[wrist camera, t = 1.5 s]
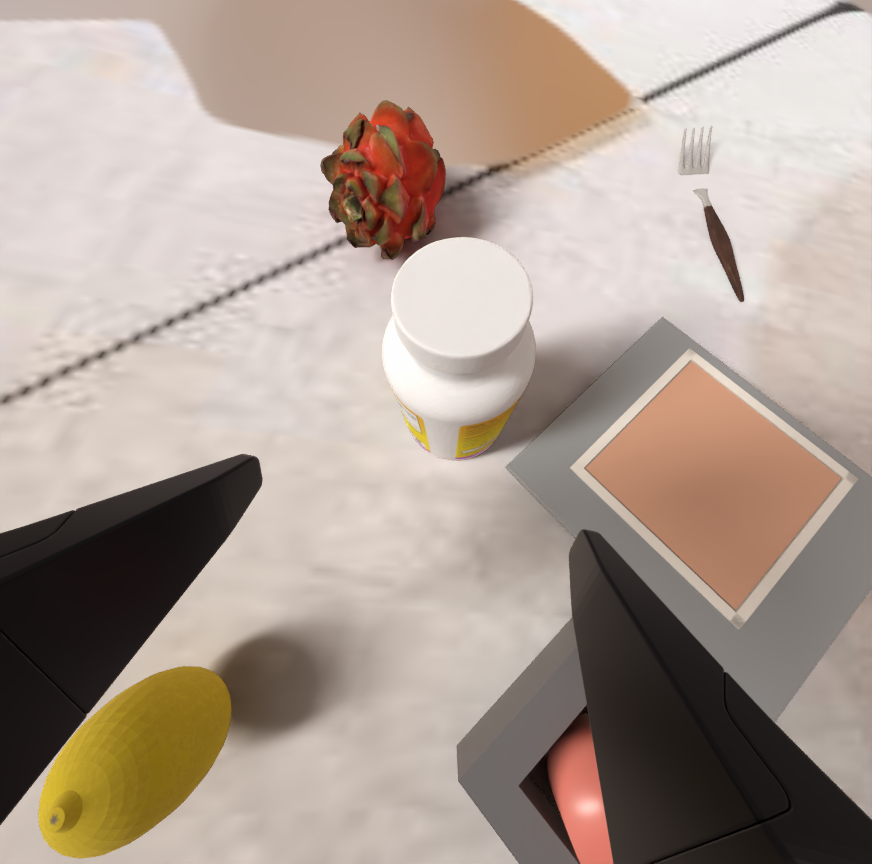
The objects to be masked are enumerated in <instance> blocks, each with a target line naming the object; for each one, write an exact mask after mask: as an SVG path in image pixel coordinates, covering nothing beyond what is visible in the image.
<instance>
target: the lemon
mask: <svg viewBox="0 0 872 864" xmlns="http://www.w3.org/2000/svg"><path fill="white" fill-rule="evenodd" d="M231 711H232V707H231V698H230V694H229V691H228V689H227V686H226V685H225V683H224V682H223V680H222V679H221V678H220V677H219V676H218V675H217V674H215V673H214V672H213V671H210V670H207V669H205V668H202V667H187V666H183V667H178V668H174V669H170V670H166V671H163V672H159V673H157V674H154V675H152V676H150V677H148V678H146V679H144V680H142V681H140V682H138V683H137V684H135V685H133V686H131V687H129V688H128V689H126V690H124V691H123V692H121V693H120V694H119V695H117V696H116V697H114V698H113V699H112V700H111V701H109V702H108V703H107V704H106V705H105V706H103V707H102V708H101V709H100V710H99V711H98V712H97V713H95V714H94V715H93V716H92V717H91V718H90V719H89V720H88V721H86V722H85V723H84V724H83V725H82V726H81V727H80V728H79V729H78V731H77V732H76V733H75V734H74V735H73V736H72V738H71V739H70V740H69V742H68V743H67V744H66V745H65V747H64V748H63V749H62V751H61V752H60V754H59V755H58V757H57V758H56V760H55V762H54V764H53V766H52V768H51V770H50V772H49V774H48V776H47V778H46V781H45V784H44V787H43V790H42V794H41V798H40V805H39V813H38V815H39V826H40V830H41V832H42V835H43V838H44V839H45V841H46V842H47V843H48V845H49V846H50V847H51V848H53V849H54V850H56V851H57V852H59V853H60V854H62V855H64V856H69V857H73V858H88V857H96V856H100V855H104V854H106V853H109V852H111V851H113V850H116V849H118V848H120V847H122V846H125V845H127V844H129V843H131V842H132V841H134V840H136V839H137V838H139V837H140V836H142V835H143V834H145V833H146V832H148V831H149V830H150V829H152V828H153V827H154V826H155V825H157V824H158V823H159V822H161V821H162V820H163V819H164V818H166V817H167V816H168V815H170V814H171V813H172V812H173V811H174V810H175V809H177V808H178V807H179V806H180V805H181V804H182V803H183V802H184V801H185V800H186V799H187V797H188V796H189V795H190V794H191V793H192V792H193V790H194V789H195V788H196V787H197V786H198V784H199V783H200V782H201V781H202V779H203V778H204V777H205V776H206V774H207V773H208V772H209V770H210V768H211V767H212V765H213V763H214V762H215V760H216V758H217V756H218V754H219V752H220V751H221V749H222V747H223V745H224V742H225V740H226V736H227V733H228V730H229V726H230V722H231Z"/></svg>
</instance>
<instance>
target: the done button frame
mask: <svg viewBox="0 0 872 864" xmlns="http://www.w3.org/2000/svg"><path fill="white" fill-rule="evenodd" d="M586 705H587V703H586V697H585V691H584V685H583V679H582V673H581V667H580V661H579V655H578V649H577V643H576V637H575V631H574V625H573V618H571V620H570V621H569V622H568V623H567V624H566V625H565V626H564V627H563V628H562V630H561V631H560V632H559V633H558V634H557V635H556V636H555V637H554V638H553V640H552V641H551V642H550V643H549V644H548V645H547V646H546V647H545V648H544V650H543V651H542V652H541V653H540V654H539V655H538V656H537V657H536V658H535V660H534V661H533V662H532V663H531V664H530V665H529V666H528V667H527V668H526V670H525V671H524V672H523V673H522V674H521V675H520V676H519V677H518V678H517V680H516V681H515V682H514V683H513V684H512V685H511V686H510V687H509V688H508V690H507V691H506V692H505V693H504V694H503V695H502V696H501V697H500V698H499V699H498V701H497V702H496V703H495V704H494V705H493V706H492V707H491V708H490V709H489V711H488V712H487V713H486V714H485V715H484V716H483V717H482V718H481V719H480V721H479V722H478V723H477V724H476V725H475V726H474V727H473V728H472V729H471V731H470V732H469V733H468V734H467V735H466V736H465V737H464V738H463V739H462V741H461V742H460V743H459V744H458V745H457V763H458V781H459V783H460V784H461V785H462V787H463V788H464V789H465V791H466V792H467V794H468V795H469V796H470V798H471V799H472V800H473V802H474V803H475V804H476V806H477V807H478V808H479V810H480V811H481V813H482V814H483V815H484V817H485V818H486V819H487V821H488V822H489V823H490V825H491V826H492V827H493V829H494V830H495V832H496V833H497V834H498V836H499V837H500V838H501V840H502V841H503V842H504V844H505V845H506V846H507V848H508V849H509V851H510V852H511V853H512V855H513V856H514V857H515V859H516V860H517V861H518V863H519V864H580V862H579V860H578V857H577V855H576V853H575V850H574V848H573V845H572V842H571V840H570V837H569V835H568V832H567V830H566V827H565V824H564V822H563V819H562V817H561V816H560V814H559V813H558V812H557V811H556V809H555V808H554V807H553V806H552V804H551V803H550V802H549V800H548V799H547V798H546V797H545V795H544V794H543V793H542V792H541V790H540V789H539V788H538V787H537V785H536V784H535V783H534V781H533V780H532V779H531V778H530V776H529V775H528V774H529V772H530V771H531V770H532V769H533V768H534V766H535V765H536V764H537V763H538V762H539V761H540V759H541V758H542V757H543V756H544V755H545V753H546V752H547V751H548V750H549V749H550V748H551V746H552V745H553V744H554V743H555V742H556V740H557V739H558V738H559V737H560V736H561V735H562V733H563V732H564V731H565V730H566V729H567V727H568V726H569V725H570V724H571V723H572V721H573V720H574V719H575V718H576V717H577V716H578V714H579V713H580V712H581V711H582V710H583V708H584V707H585V706H586Z"/></svg>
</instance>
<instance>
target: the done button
mask: <svg viewBox="0 0 872 864" xmlns="http://www.w3.org/2000/svg"><path fill="white" fill-rule="evenodd" d="M547 771H548V779H549V784H550V787H551V791H552V794H553V796H554V799H555V801H556V804H557V806H558V809H559V812H560V814H561V817H562V819H563V822H564V824H565V827H566V830H567V832H568V835H569V837H570V840H571V842H572V845H573V848H574V850H575V853H576V855H577V857H578V860H579V862H580V864H613V859H612V853H611V847H610V841H609V835H608V829H607V823H606V817H605V811H604V805H603V799H602V793H601V787H600V781H599V775H598V769H597V763H596V757H595V751H594V745H593V739H592V733H591V727H590V721H589V715H588V713H587V714H581V715H578V716H577V717H576V718H575V719H574V720H573V721H572V723H571V724H570V725H569V726H568V727H567V729H566V730H565V731H564V732H563V733H562V735H561V736H560V737H559V738H558V739H557V740H556V742H555V743H554V744H553V745H552V746H551V748H550V749H549V752H548V760H547Z"/></svg>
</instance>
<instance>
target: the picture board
mask: <svg viewBox="0 0 872 864" xmlns="http://www.w3.org/2000/svg"><path fill="white" fill-rule="evenodd" d="M505 468H506V469H507V470H508V471H509V472H510V473H511V474H512V475H513V476H514V477H515V478H516V479H517V480H518V481H519V482H520V483H521V484H522V485H523V486H524V487H525V488H526V489H527V490H528V491H529V492H530V493H531V494H532V495H533V496H534V497H535V498H536V499H537V500H538V501H539V502H540V503H541V504H542V505H543V506H544V507H545V508H546V509H547V510H548V511H549V512H550V513H551V514H552V515H553V516H554V517H555V518H556V519H557V520H558V521H559V522H560V524H561V525H562V526H563V527H564V528H565V529H566V530H567V531H568V532H569V533H570V534H571V535H572V536H573V537H574V538H575V539H576V537H577V535H578V533H579V532H580V530H582V529H587V530H592V531H596V532H598V533H600V534H601V535H602V536H603V537H604V538H605V539H606V541H607V542H608V543H609V544H610V545H611V546H612V547H613V548H614V549H615V550H616V551H617V553H618V554H619V555H620V556H621V557H622V558H623V559H624V560H625V561H626V562H627V563H628V565H629V566H630V567H631V568H632V569H633V570H634V571H635V572H636V573H637V574H638V575H639V577H640V578H641V579H642V580H643V581H644V582H645V583H646V584H647V585H648V586H649V587H650V588H651V590H652V591H653V592H654V593H655V594H656V595H657V596H658V597H659V598H660V599H661V600H662V602H663V603H664V604H665V605H666V606H667V607H668V608H669V609H670V610H671V611H672V612H673V614H674V615H675V616H676V617H677V618H678V619H679V620H680V621H681V622H682V623H683V624H684V626H685V627H686V628H687V629H688V630H689V631H690V632H691V633H692V634H693V635H694V636H695V637H696V639H697V640H698V641H699V642H700V643H701V644H702V645H703V646H704V647H705V648H706V649H707V651H708V652H709V653H710V654H711V655H712V656H713V657H714V658H715V659H716V660H717V661H718V663H719V664H720V665H721V666H722V667H723V668H724V672H727V673H729V674H730V675H731V677H732V678H733V679H734V680H735V681H736V682H737V683H738V684H739V685H740V686H741V687H742V688H743V690H744V691H745V692H746V693H747V694H748V695H749V696H750V697H751V698H752V699H753V700H754V701H755V702H756V703H757V704H758V706H759V707H760V708H761V709H762V710H763V711H764V712H765V713H766V714H767V715H768V716H769V717H770V718H771V719H772V720H773V721H774V723H775V721H776V720H777V719H778V717H779V716H780V714H781V713H782V712H783V710H784V709H785V708H786V706H787V705H788V703H789V702H790V701H791V699H792V698H793V696H794V695H795V694H796V692H797V691H798V690H799V688H800V687H801V685H802V684H803V683H804V681H805V680H806V678H807V677H808V676H809V674H810V673H811V672H812V670H813V669H814V667H815V666H816V665H817V663H818V662H819V660H820V659H821V658H822V656H823V655H824V654H825V652H826V651H827V649H828V648H829V647H830V645H831V644H832V642H833V641H834V640H835V638H836V637H837V636H838V634H839V633H840V631H841V630H842V629H843V627H844V626H845V624H846V623H847V622H848V620H849V619H850V618H851V616H852V615H853V613H854V612H855V611H856V609H857V608H858V607H859V605H860V604H861V602H862V601H863V600H864V598H865V597H866V595H867V594H868V593H869V591H870V590H871V589H872V477H871V476H870V475H868V474H867V473H866V472H864V471H863V470H862V469H861V468H859V467H858V466H857V465H855V464H854V463H853V462H851V461H850V460H849V459H847V458H846V457H845V456H844V455H842V454H841V453H840V452H838V451H837V450H836V449H834V448H833V447H832V446H830V445H829V444H828V443H827V442H825V441H824V440H823V439H821V438H820V437H819V436H817V435H816V434H815V433H814V432H812V431H811V430H810V429H808V428H807V427H806V426H804V425H803V424H802V423H800V422H799V421H798V420H797V419H795V418H794V417H793V416H791V415H790V414H789V413H787V412H786V411H785V410H784V409H782V408H781V407H780V406H778V405H777V404H776V403H774V402H773V401H772V400H770V399H769V398H768V397H767V396H765V395H764V394H763V393H761V392H760V391H759V390H757V389H756V388H755V387H753V386H752V385H751V384H750V383H748V382H747V381H746V380H744V379H743V378H742V377H740V376H739V375H738V374H737V373H735V372H734V371H733V370H731V369H730V368H729V367H727V366H726V365H725V364H723V363H722V362H721V361H720V360H718V359H717V358H716V357H714V356H713V355H712V354H710V353H709V352H708V351H707V350H705V349H704V348H703V347H701V346H700V345H699V344H697V343H696V342H695V341H693V340H692V339H691V338H690V337H688V336H687V335H686V334H684V333H683V332H682V331H680V330H679V329H678V328H676V327H675V326H674V325H673V324H671V323H670V322H669V321H667V320H666V319H665V318H663V317H662V318H661V319H660V320H659V321H658V322H657V323H656V324H655V325H654V326H652V327H651V328H650V329H649V330H648V331H647V332H646V333H645V334H644V335H643V336H642V337H641V338H640V339H639V340H638V341H637V342H636V343H635V344H634V345H633V346H632V347H631V348H630V349H628V350H627V351H626V352H625V353H624V354H623V355H622V356H621V357H620V358H619V359H618V360H617V361H616V362H615V363H614V364H613V365H612V366H611V367H610V368H609V369H608V370H607V371H605V372H604V373H603V374H602V375H601V376H600V377H599V378H598V379H597V380H596V381H595V382H594V383H593V384H592V385H591V386H590V387H589V388H588V389H587V390H586V391H585V392H584V393H583V394H581V395H580V396H579V397H578V398H577V399H576V400H575V401H574V402H573V403H572V404H571V405H570V406H569V407H568V408H567V409H566V410H565V411H564V412H563V413H562V414H561V415H560V416H559V417H557V418H556V419H555V420H554V421H553V422H552V423H551V424H550V425H549V426H548V427H547V428H546V429H545V430H544V431H543V432H542V433H541V434H540V435H539V436H538V437H537V438H536V439H534V440H533V441H532V442H531V443H530V444H529V445H528V446H527V447H526V448H525V449H524V450H523V451H522V452H521V453H520V454H519V455H518V456H517V457H516V458H515V459H514V460H513V461H512V462H510V463H509V464H508V465H507V466H506V467H505Z"/></svg>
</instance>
